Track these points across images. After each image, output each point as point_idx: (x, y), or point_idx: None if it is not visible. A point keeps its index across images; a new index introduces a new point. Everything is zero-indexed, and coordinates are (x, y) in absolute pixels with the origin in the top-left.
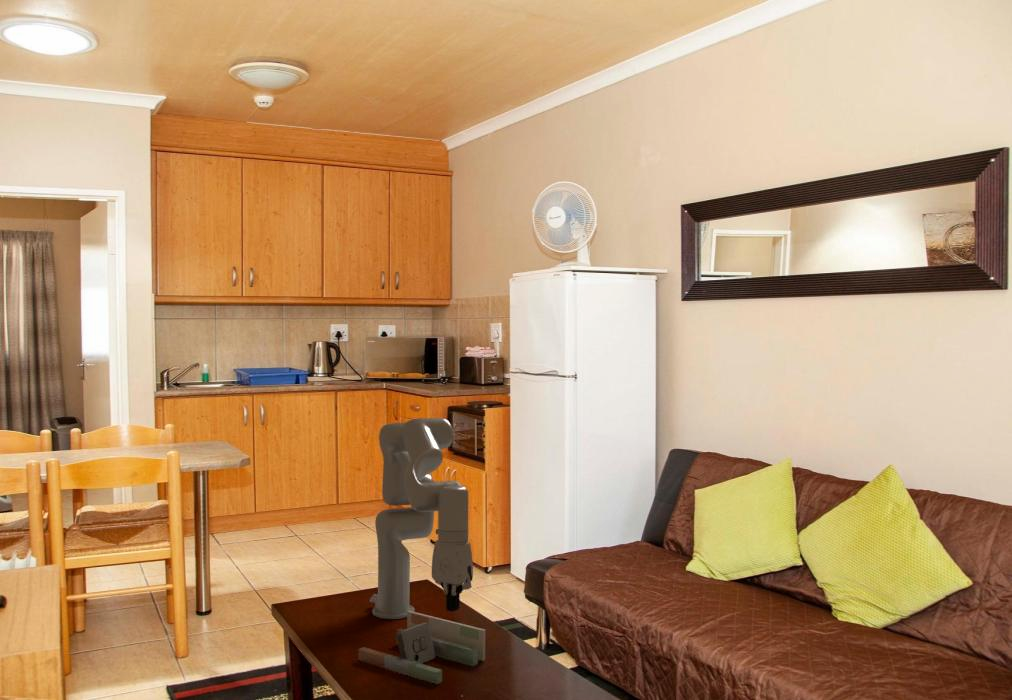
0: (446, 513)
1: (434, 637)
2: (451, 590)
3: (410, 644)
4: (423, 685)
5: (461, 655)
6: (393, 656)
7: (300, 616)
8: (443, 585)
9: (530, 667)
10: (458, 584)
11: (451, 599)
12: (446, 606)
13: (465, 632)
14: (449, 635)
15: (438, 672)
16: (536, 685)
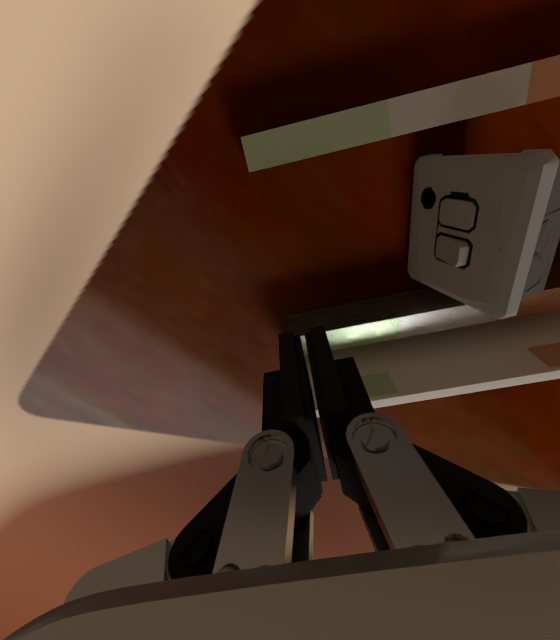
0: None
1: (465, 323)
2: (350, 483)
3: (473, 182)
4: (271, 94)
5: (329, 317)
6: (498, 103)
7: None
8: (443, 498)
9: (195, 399)
10: (35, 623)
11: (282, 394)
12: (326, 339)
13: (370, 384)
14: (428, 358)
15: (243, 148)
16: (94, 348)
